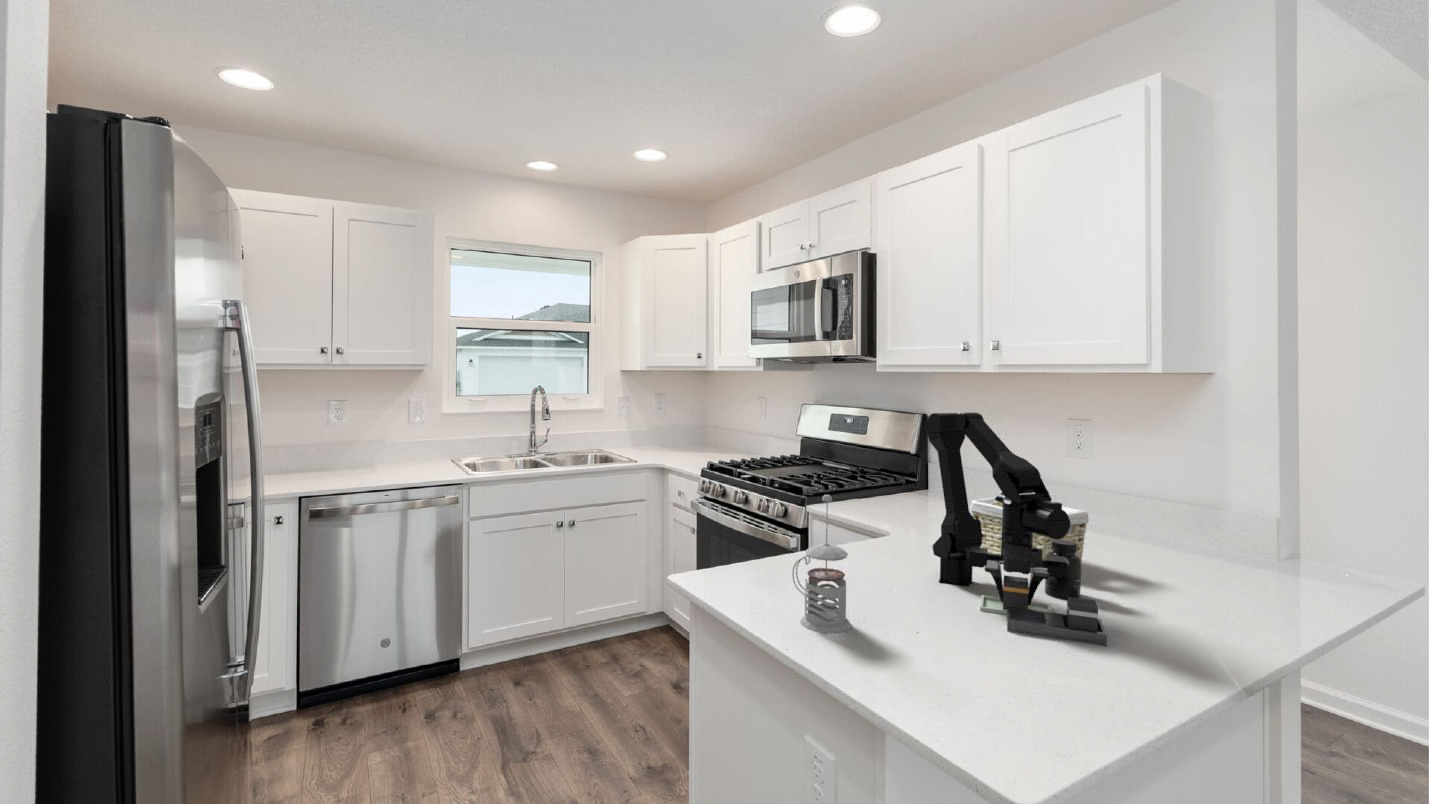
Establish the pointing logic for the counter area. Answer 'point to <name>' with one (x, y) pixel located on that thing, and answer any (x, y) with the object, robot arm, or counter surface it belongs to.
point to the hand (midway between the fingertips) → (1015, 603)
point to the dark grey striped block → (1015, 592)
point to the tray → (996, 605)
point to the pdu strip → (1051, 626)
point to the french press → (825, 589)
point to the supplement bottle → (1072, 584)
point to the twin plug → (1082, 614)
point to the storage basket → (992, 533)
